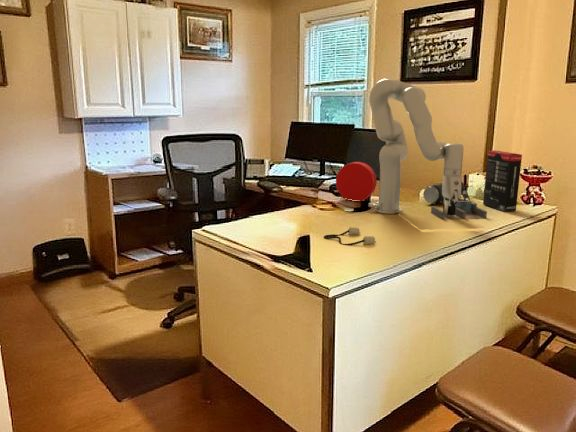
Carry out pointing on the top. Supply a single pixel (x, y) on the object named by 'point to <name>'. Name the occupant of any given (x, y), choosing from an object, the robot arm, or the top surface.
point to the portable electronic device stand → (465, 195)
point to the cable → (353, 231)
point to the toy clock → (356, 181)
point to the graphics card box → (502, 180)
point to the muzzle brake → (436, 193)
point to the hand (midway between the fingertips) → (448, 213)
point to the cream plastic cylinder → (447, 208)
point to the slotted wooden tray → (462, 211)
